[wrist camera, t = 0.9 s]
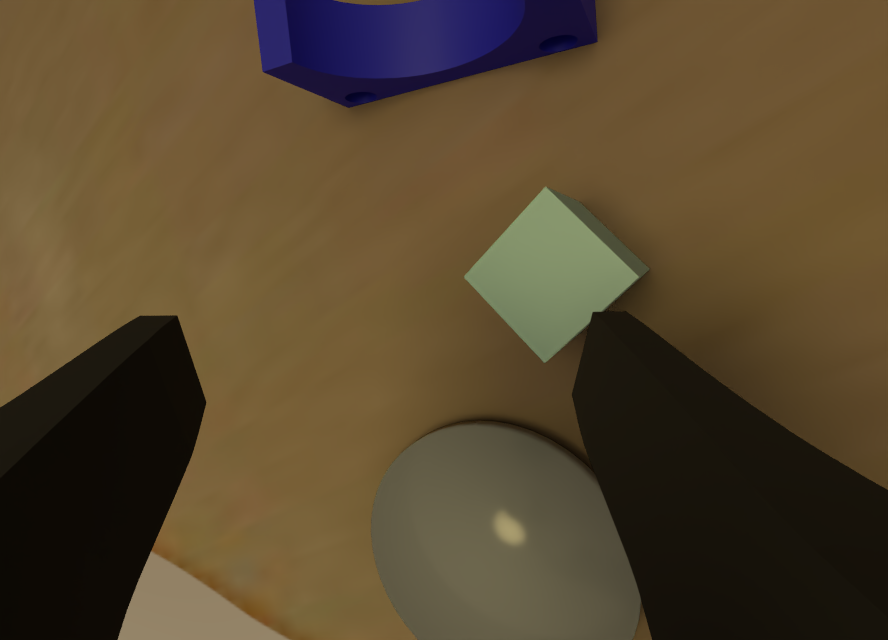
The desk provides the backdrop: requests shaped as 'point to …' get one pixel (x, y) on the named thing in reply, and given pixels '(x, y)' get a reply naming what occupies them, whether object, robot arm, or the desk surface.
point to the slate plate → (500, 540)
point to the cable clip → (410, 41)
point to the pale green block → (554, 272)
